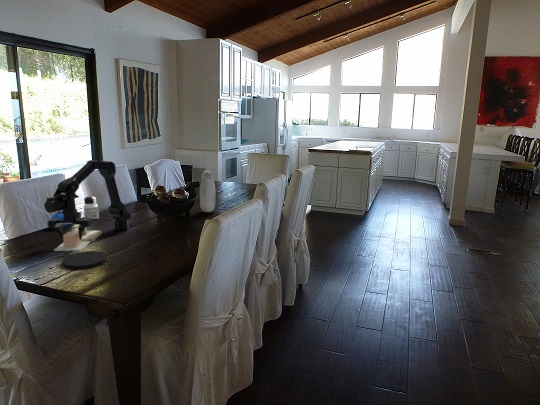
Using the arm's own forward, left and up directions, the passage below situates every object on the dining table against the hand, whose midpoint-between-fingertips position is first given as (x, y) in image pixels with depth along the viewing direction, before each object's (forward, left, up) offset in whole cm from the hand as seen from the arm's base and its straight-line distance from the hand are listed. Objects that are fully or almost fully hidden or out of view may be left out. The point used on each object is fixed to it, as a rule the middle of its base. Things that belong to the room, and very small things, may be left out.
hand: (71, 239), depth 186 cm
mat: (0, 0, -4) cm, 4 cm away
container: (+9, -53, -4) cm, 54 cm away
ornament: (+19, -33, -4) cm, 38 cm away
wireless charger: (-13, +20, -4) cm, 24 cm away
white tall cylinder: (-61, -67, -4) cm, 91 cm away
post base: (0, -14, -4) cm, 14 cm away
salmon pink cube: (0, 0, -3) cm, 3 cm away
